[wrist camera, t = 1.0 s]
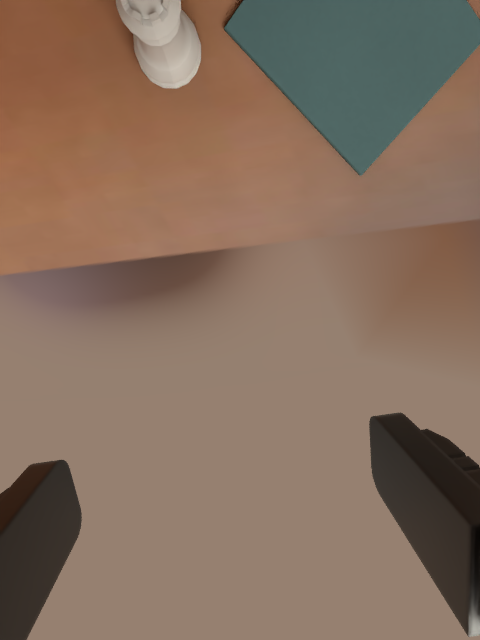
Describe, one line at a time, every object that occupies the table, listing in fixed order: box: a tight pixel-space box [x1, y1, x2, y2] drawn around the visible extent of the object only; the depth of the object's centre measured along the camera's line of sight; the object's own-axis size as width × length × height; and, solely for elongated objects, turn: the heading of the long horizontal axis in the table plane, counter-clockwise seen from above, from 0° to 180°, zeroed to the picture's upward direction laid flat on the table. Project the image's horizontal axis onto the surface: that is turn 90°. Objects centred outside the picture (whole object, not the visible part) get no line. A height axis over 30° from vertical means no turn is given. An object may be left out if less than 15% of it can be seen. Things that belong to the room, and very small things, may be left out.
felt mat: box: [224, 0, 480, 175], centre depth 23 cm, size 14×12×1 cm
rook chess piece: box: [116, 0, 201, 89], centre depth 20 cm, size 4×4×8 cm
